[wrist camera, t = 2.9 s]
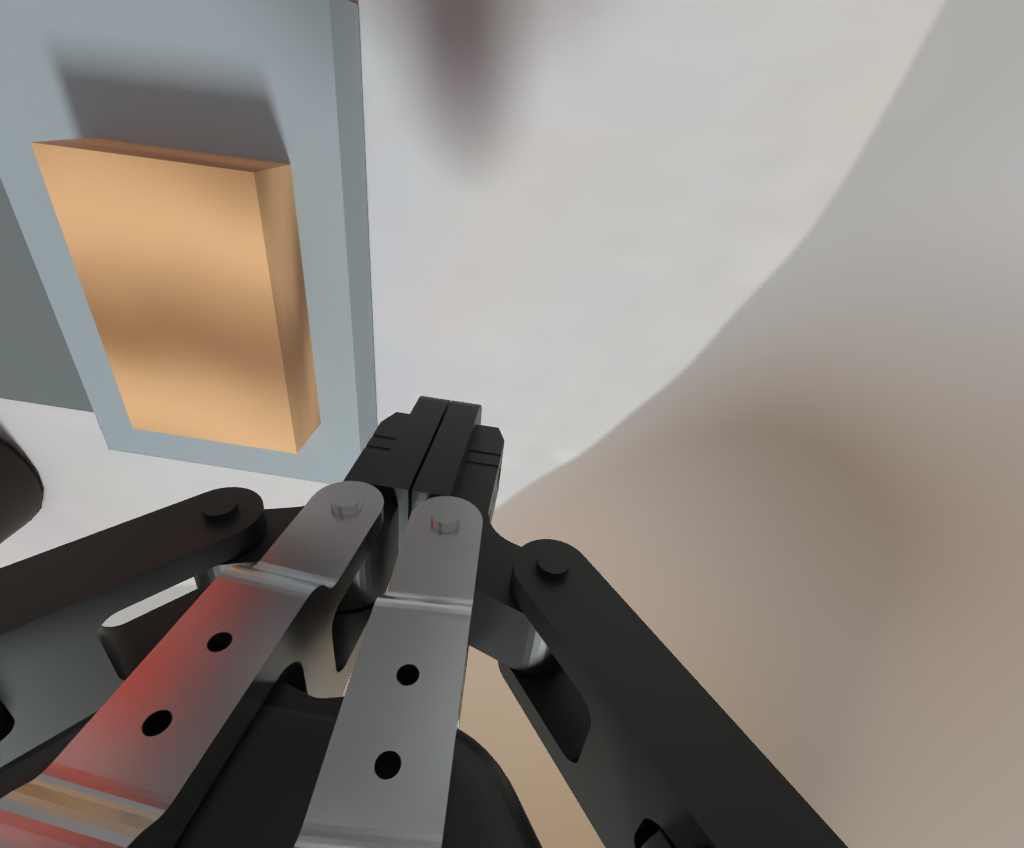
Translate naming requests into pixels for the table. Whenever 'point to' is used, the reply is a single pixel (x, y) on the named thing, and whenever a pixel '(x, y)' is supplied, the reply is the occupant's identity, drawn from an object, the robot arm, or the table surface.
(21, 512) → the bottle
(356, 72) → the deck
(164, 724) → the robot arm
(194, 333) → the tile
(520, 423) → the table surface
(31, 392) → the mat
